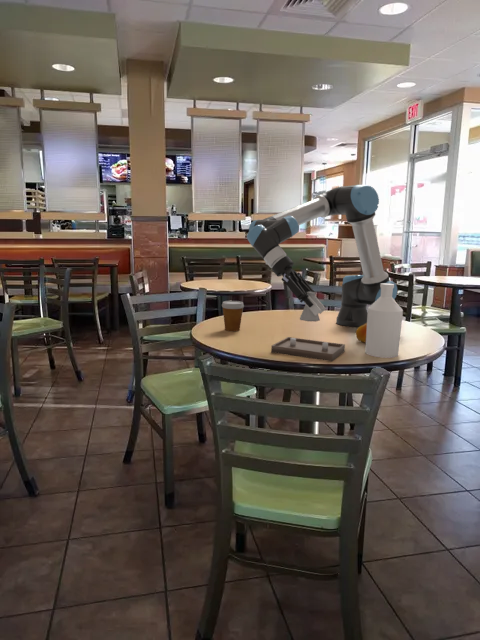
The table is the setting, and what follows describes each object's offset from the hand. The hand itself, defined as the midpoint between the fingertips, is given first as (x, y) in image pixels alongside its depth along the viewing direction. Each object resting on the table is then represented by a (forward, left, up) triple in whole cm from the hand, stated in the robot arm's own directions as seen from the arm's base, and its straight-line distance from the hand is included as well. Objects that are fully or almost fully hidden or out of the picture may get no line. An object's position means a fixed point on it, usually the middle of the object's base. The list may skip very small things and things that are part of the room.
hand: (320, 312), depth 163 cm
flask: (+3, -3, -4) cm, 5 cm away
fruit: (-26, -10, -15) cm, 32 cm away
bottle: (-22, +6, -15) cm, 27 cm away
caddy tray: (+3, -2, -15) cm, 15 cm away
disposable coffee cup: (+19, -43, -15) cm, 50 cm away
